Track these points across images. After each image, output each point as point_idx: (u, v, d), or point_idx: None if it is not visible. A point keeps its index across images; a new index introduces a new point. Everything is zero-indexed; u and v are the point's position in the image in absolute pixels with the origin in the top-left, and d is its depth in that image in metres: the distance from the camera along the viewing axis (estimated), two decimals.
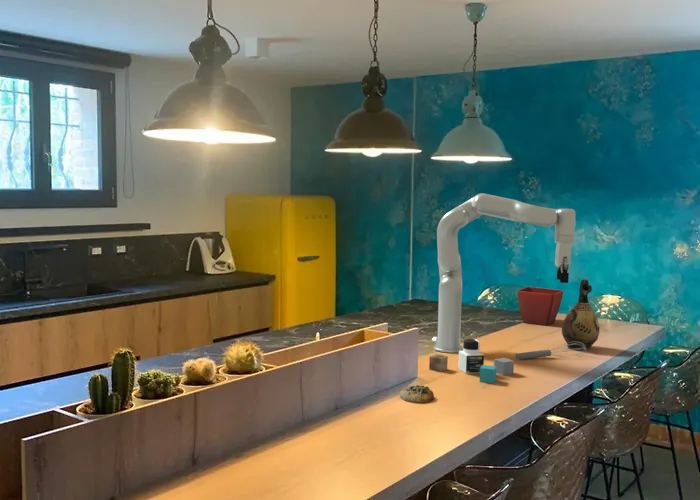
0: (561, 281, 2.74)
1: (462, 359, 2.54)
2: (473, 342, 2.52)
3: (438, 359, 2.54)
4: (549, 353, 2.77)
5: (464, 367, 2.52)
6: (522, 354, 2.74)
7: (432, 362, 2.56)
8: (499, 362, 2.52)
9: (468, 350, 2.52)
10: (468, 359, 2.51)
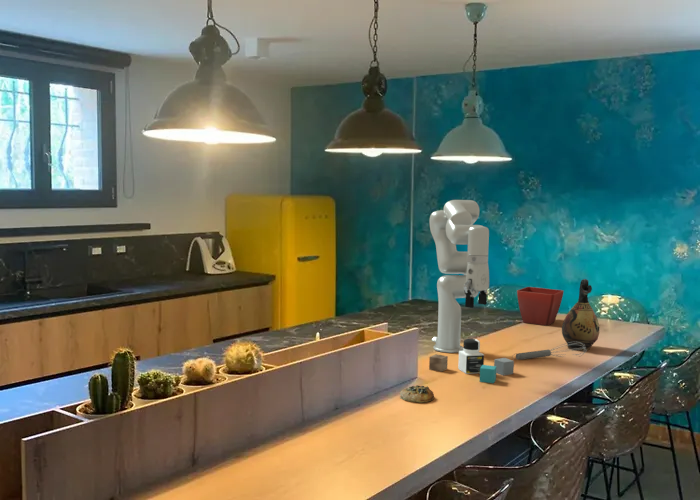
0: None
1: (462, 359, 2.54)
2: (473, 342, 2.52)
3: (438, 359, 2.54)
4: (549, 353, 2.78)
5: (464, 367, 2.52)
6: (522, 354, 2.75)
7: (432, 362, 2.56)
8: (499, 362, 2.52)
9: (468, 350, 2.52)
10: (468, 359, 2.51)
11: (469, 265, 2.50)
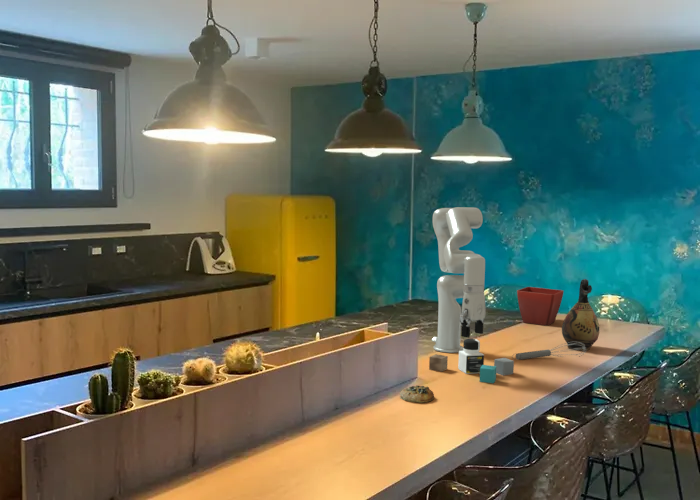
0: None
1: (462, 359, 2.54)
2: (473, 342, 2.52)
3: (438, 359, 2.54)
4: (549, 353, 2.78)
5: (464, 367, 2.52)
6: (522, 354, 2.75)
7: (432, 362, 2.56)
8: (499, 362, 2.52)
9: (468, 350, 2.52)
10: (468, 359, 2.51)
11: (465, 295, 2.50)
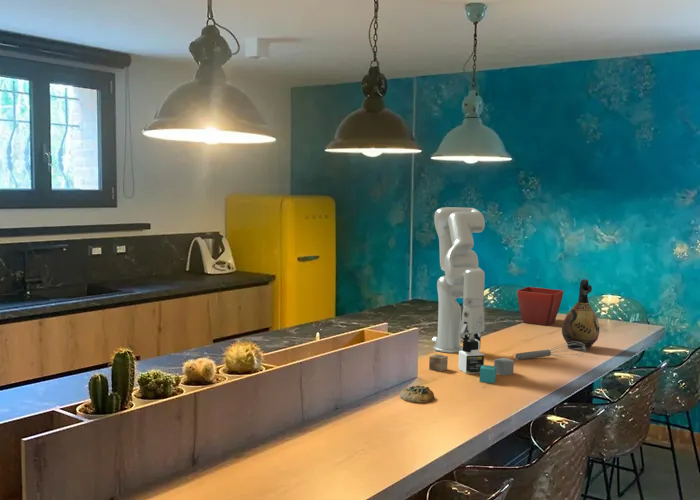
0: None
1: (462, 359, 2.54)
2: (473, 342, 2.52)
3: (438, 359, 2.54)
4: (549, 353, 2.78)
5: (464, 367, 2.52)
6: (522, 354, 2.75)
7: (432, 362, 2.56)
8: (499, 362, 2.52)
9: None
10: (468, 359, 2.51)
11: (465, 308, 2.51)
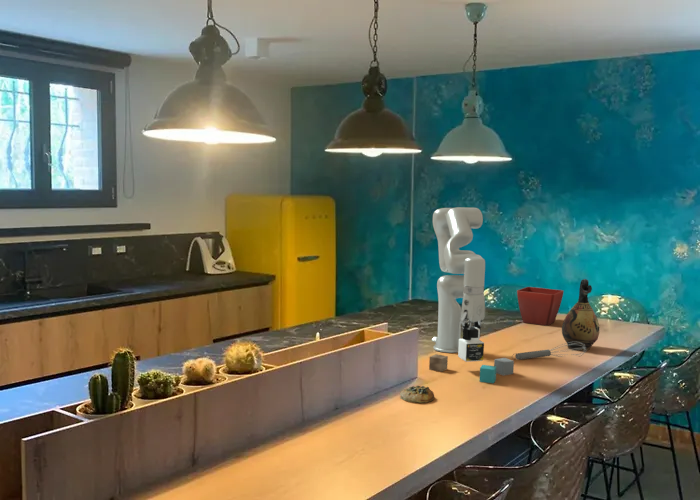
0: None
1: (462, 346, 2.55)
2: (473, 330, 2.52)
3: (438, 359, 2.54)
4: (549, 353, 2.78)
5: (464, 355, 2.53)
6: (521, 354, 2.75)
7: (432, 362, 2.56)
8: (499, 362, 2.52)
9: None
10: (468, 347, 2.51)
11: (465, 296, 2.51)
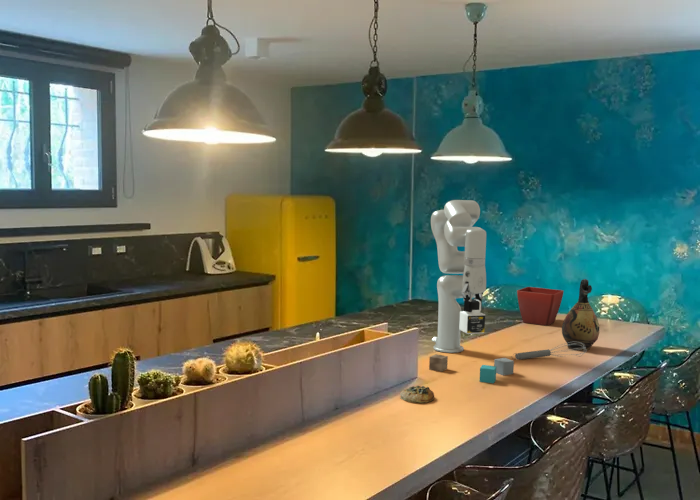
0: None
1: (463, 319, 2.54)
2: (474, 302, 2.51)
3: (438, 359, 2.54)
4: (549, 353, 2.78)
5: (465, 327, 2.52)
6: (521, 354, 2.75)
7: (432, 362, 2.56)
8: (499, 362, 2.52)
9: None
10: (469, 319, 2.50)
11: (466, 268, 2.50)
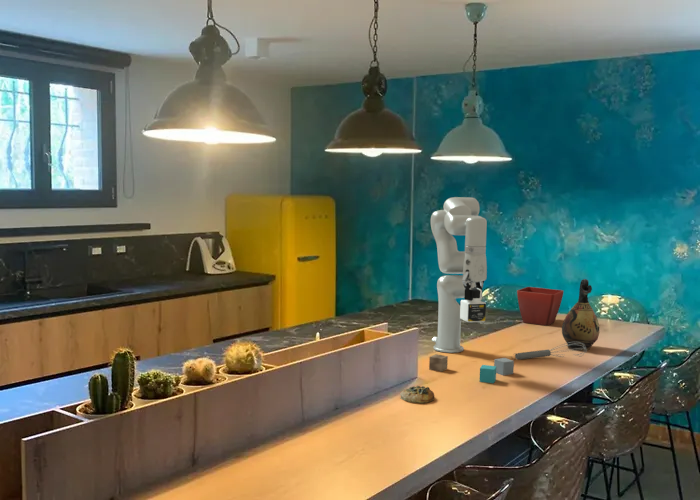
0: None
1: (464, 307, 2.53)
2: (475, 290, 2.50)
3: (438, 359, 2.54)
4: (548, 353, 2.78)
5: (466, 315, 2.51)
6: (521, 354, 2.75)
7: (432, 362, 2.56)
8: (499, 362, 2.52)
9: None
10: (469, 307, 2.49)
11: (466, 256, 2.49)
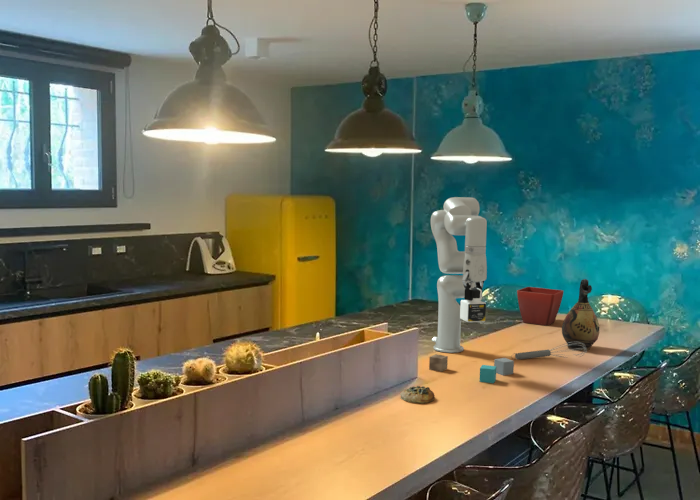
0: None
1: (464, 307, 2.53)
2: (475, 290, 2.50)
3: (438, 359, 2.54)
4: (548, 353, 2.77)
5: (466, 315, 2.51)
6: (521, 354, 2.75)
7: (432, 362, 2.56)
8: (499, 362, 2.52)
9: None
10: (469, 307, 2.49)
11: (466, 256, 2.49)
